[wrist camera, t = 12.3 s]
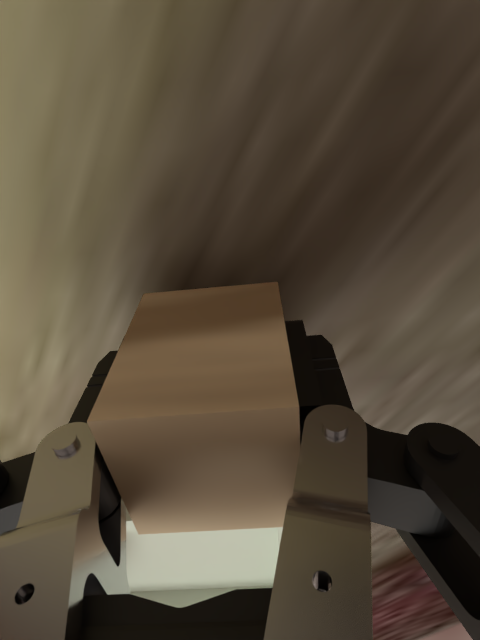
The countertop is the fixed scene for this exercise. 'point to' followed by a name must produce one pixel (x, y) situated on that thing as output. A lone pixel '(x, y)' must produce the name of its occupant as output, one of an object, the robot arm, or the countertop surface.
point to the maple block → (202, 411)
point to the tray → (199, 563)
